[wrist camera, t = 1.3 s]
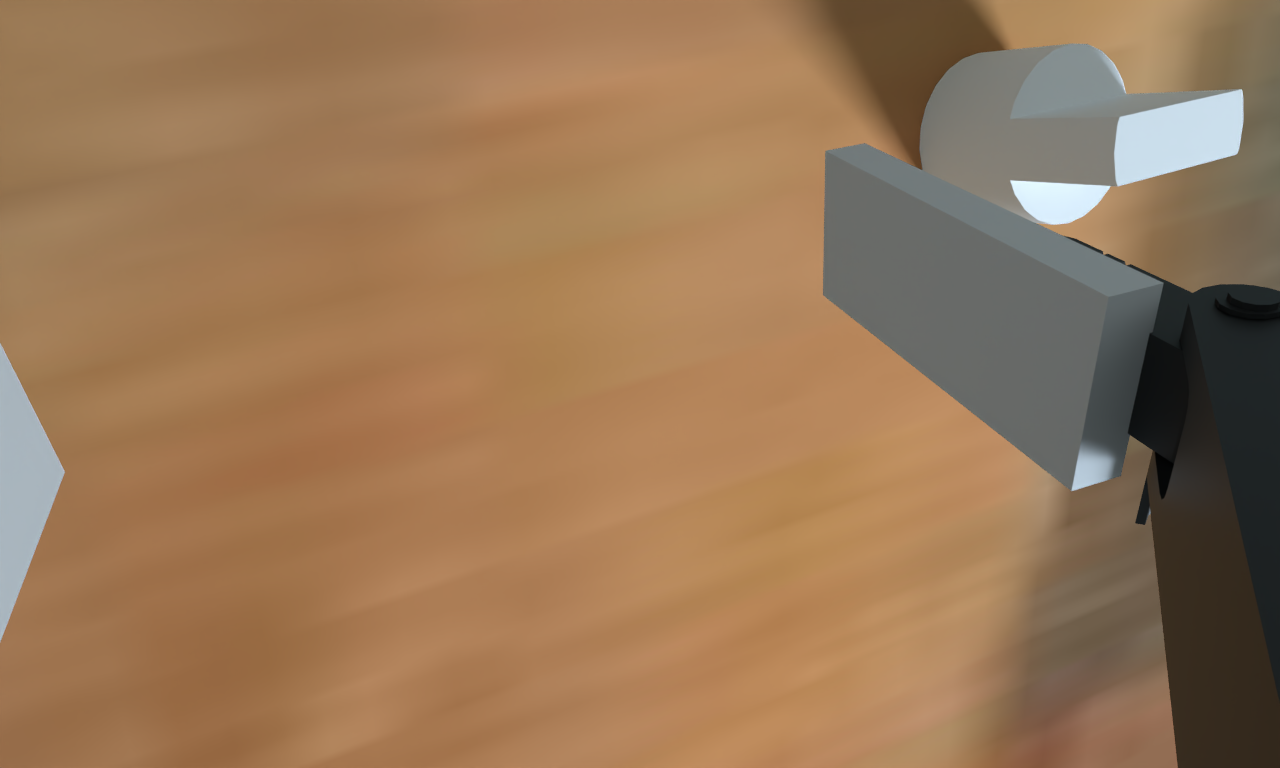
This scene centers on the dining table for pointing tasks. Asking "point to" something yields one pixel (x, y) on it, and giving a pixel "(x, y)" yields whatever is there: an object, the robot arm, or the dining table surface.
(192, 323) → the dining table surface
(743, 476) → the dining table surface
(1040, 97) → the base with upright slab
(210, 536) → the dining table surface
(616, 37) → the dining table surface
